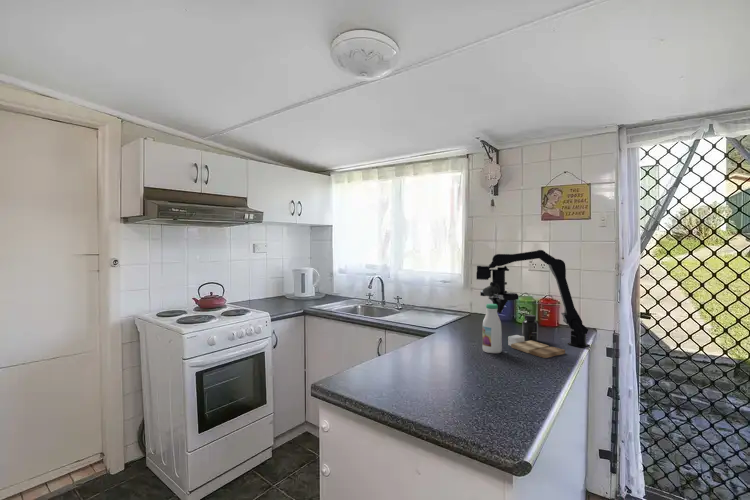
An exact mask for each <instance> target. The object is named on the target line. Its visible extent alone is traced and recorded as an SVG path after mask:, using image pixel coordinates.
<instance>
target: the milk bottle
mask: <svg viewBox="0 0 750 500" xmlns="http://www.w3.org/2000/svg"><path fill="white" fill-rule="evenodd" d="M485 307H486V308H485V310H486V313H485V315H484V318H483V321H482V351H483V352H485V353H488V354H500V353H502V351H503V350H502V347H503V345H502V342H503V341H502V340H503V338H502V337H503V336H502V335H503V334H502V321H501V319H500V316H499V314H498V313H497V310H498V309H497V308H498V305H497V304H493V303H486V305H485Z"/></svg>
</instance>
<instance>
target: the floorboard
mask: <svg viewBox="0 0 750 500" xmlns="http://www.w3.org/2000/svg"><path fill="white" fill-rule="evenodd" d="M529 354H530V355H532V356H536V357H540V358H543V359H547V358H552V357H556V356H561V355H565V354H566V349H563V348H559V347H557V346H556V347H554V346H549V347H547V348H542V349H537V350H532V352H530V353H529Z"/></svg>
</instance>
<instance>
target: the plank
mask: <svg viewBox="0 0 750 500" xmlns="http://www.w3.org/2000/svg"><path fill="white" fill-rule="evenodd" d="M547 347H550V346H549V345H548V344H545V343H541V342H538V341H537V342H535V341H532V340H530V341H524V342H519V343H514V344H511V346H510V348H512V349H514V350H518V351H520V352H524V353H526V354H530V352H532V350H537V349H542V348H547Z"/></svg>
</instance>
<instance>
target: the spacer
mask: <svg viewBox="0 0 750 500" xmlns="http://www.w3.org/2000/svg"><path fill="white" fill-rule="evenodd" d="M507 340H508V341H507V344H508V345H507V346H510V347H511V344H514V343H519V342H525V341H524V336H522V335H519V334H514V335H509V336H508V337H507Z"/></svg>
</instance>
